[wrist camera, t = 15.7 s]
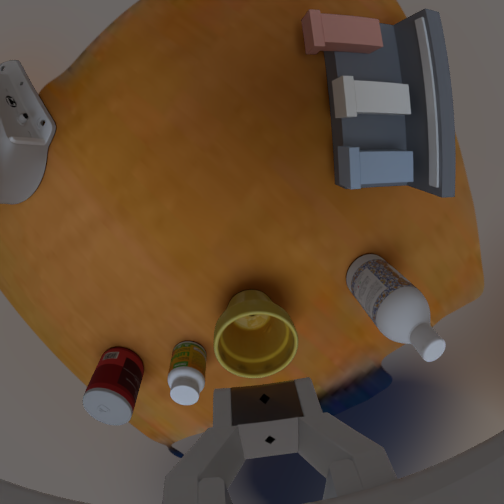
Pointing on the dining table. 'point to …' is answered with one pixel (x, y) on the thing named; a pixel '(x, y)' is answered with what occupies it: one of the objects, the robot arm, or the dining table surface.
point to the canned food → (114, 386)
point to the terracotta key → (340, 33)
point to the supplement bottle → (187, 372)
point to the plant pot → (254, 336)
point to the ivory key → (369, 98)
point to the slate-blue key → (373, 166)
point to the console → (421, 101)
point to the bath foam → (394, 305)
